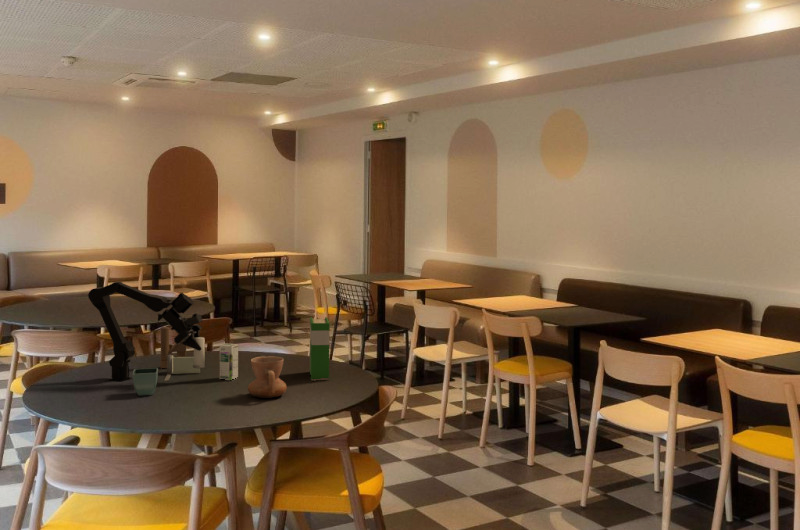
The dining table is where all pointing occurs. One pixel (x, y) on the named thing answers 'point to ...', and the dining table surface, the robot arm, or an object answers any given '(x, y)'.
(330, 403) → the dining table surface
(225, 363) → the syrup box
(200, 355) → the beige dome-topped cylinder
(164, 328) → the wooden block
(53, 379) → the dining table surface
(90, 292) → the robot arm
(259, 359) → the ceramic jug
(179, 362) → the beige flat block
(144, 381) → the flower pot
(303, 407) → the dining table surface
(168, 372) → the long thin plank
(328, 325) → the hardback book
